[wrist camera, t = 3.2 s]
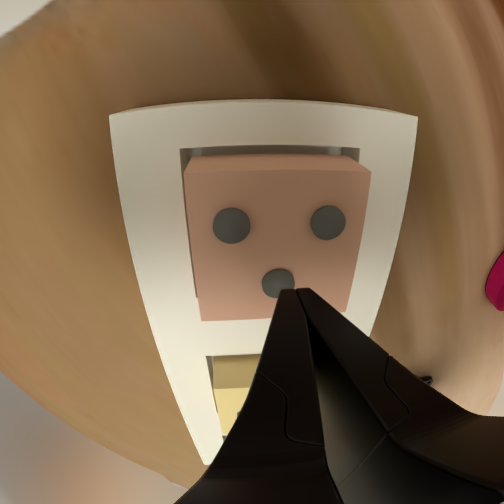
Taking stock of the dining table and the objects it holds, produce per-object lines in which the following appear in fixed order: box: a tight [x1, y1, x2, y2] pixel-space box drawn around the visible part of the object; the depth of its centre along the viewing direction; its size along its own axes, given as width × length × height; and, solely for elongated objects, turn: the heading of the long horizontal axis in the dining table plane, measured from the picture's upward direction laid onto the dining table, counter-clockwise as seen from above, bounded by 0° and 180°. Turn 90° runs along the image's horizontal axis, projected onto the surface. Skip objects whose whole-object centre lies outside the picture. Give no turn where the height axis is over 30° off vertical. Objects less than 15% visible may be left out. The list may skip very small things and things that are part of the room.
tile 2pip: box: [213, 354, 261, 434], centre depth 17 cm, size 6×6×2 cm
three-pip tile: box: [183, 154, 372, 321], centre depth 11 cm, size 6×6×2 cm
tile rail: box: [109, 99, 418, 465], centre depth 19 cm, size 12×32×3 cm, turn 0°
